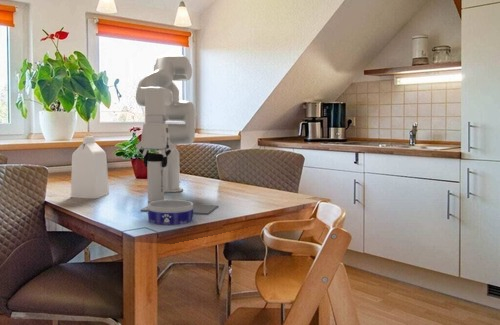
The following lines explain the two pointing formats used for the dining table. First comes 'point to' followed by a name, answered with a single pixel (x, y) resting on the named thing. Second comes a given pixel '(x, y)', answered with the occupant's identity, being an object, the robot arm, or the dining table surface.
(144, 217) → the dining table surface
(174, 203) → the dog bowl
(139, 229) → the dining table surface
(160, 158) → the travel mug
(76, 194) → the milk
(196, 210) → the mat
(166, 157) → the robot arm
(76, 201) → the dining table surface
